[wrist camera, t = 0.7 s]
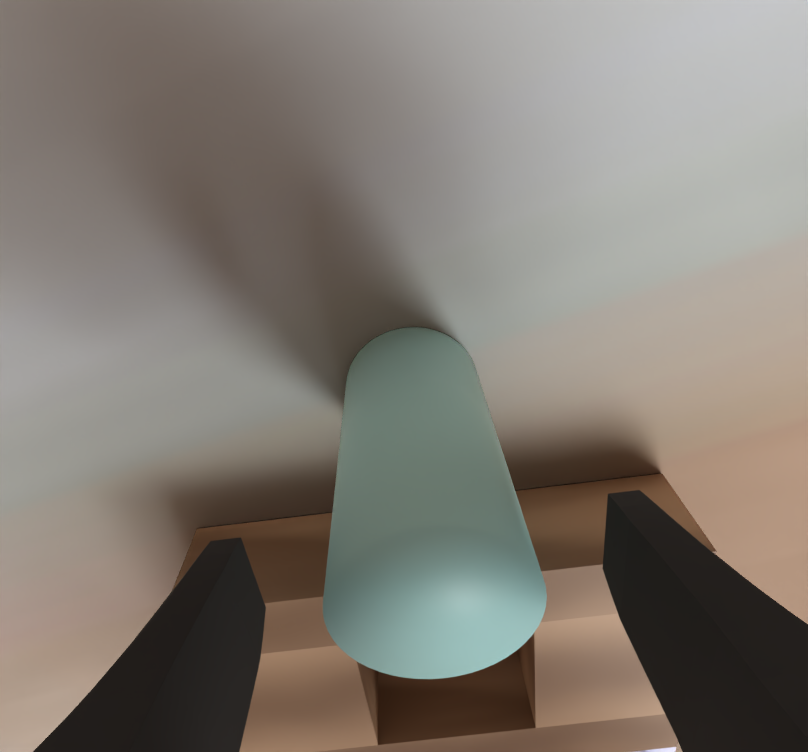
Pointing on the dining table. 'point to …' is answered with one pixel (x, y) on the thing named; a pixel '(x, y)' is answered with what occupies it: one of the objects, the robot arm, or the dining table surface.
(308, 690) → the socket
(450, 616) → the peg
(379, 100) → the dining table surface
